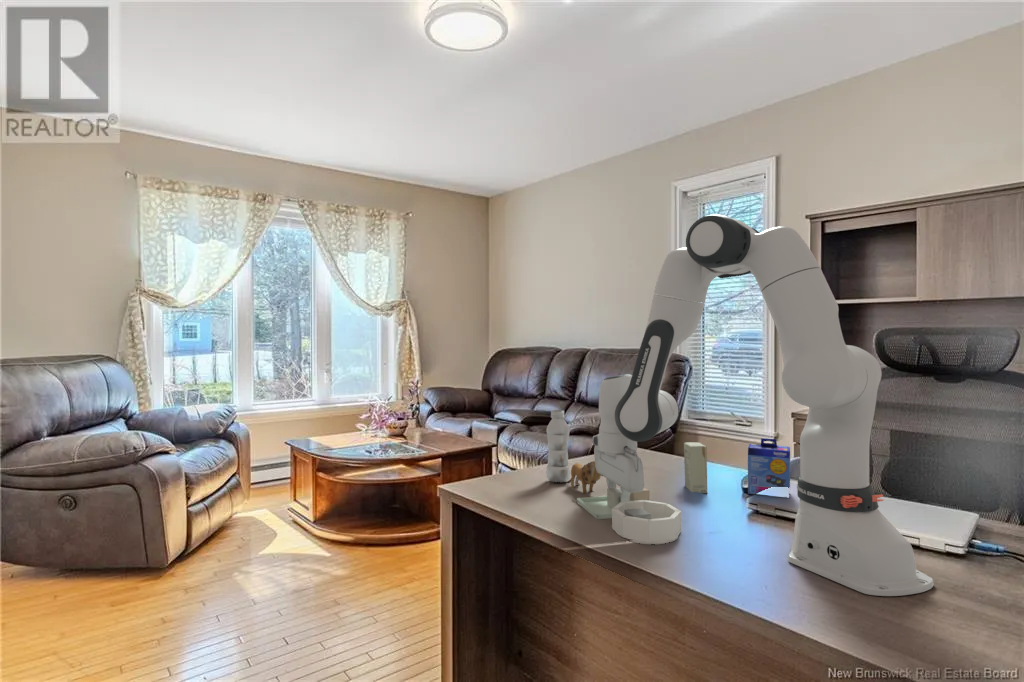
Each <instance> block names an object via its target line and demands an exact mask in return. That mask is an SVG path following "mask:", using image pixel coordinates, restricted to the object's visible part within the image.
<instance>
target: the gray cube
mask: <svg viewBox="0 0 1024 682" xmlns="http://www.w3.org/2000/svg"><path fill="white" fill-rule="evenodd" d="M624 514H625V515H626V516H631V517H637V518H643V519H651V514H650V513H648V512H647V511H645V510H644V509H642V508H638V509H627V510H624Z"/></svg>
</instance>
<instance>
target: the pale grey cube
mask: <svg viewBox="0 0 1024 682" xmlns="http://www.w3.org/2000/svg"><path fill="white" fill-rule="evenodd" d="M606 496H607V505H608V506H609V507H610V508H614V507H615V506H616V505H618V504H619V497H620V496H621V490H620V487H616V488H609V489H608V488H606ZM629 501H630V496H629Z"/></svg>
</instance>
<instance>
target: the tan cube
mask: <svg viewBox="0 0 1024 682" xmlns="http://www.w3.org/2000/svg"><path fill="white" fill-rule="evenodd" d="M637 500H647V501H651V499H650V489H648V488H646V487H645V486H644V489H643V491H642V492H632V493H631V494H630V501H637Z"/></svg>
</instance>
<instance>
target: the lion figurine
mask: <svg viewBox="0 0 1024 682" xmlns="http://www.w3.org/2000/svg"><path fill="white" fill-rule="evenodd" d="M570 475H571V476H570V477H571V478H569V479H568V481H566V484H571V485H570V487H571V488H570V489H575V488H576V487H575V486H576V485H579V486H580V483H579V481H580V482H581V486H582V493H583V494H584V495H585V494H588V491H589V493H595V491H593V489H594V485H595V484H596V483H597V481H599V480H600V479H601V477H603V476H602V475H601V474H599V473H597V471H596V468H595V460H593V461H590V462H588V463H586V464H584V465H582V464H581V463H577V462H575V463H574V464H573V465H572V467H571V470H570ZM587 485H588V486H589V489H588V491H587Z"/></svg>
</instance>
